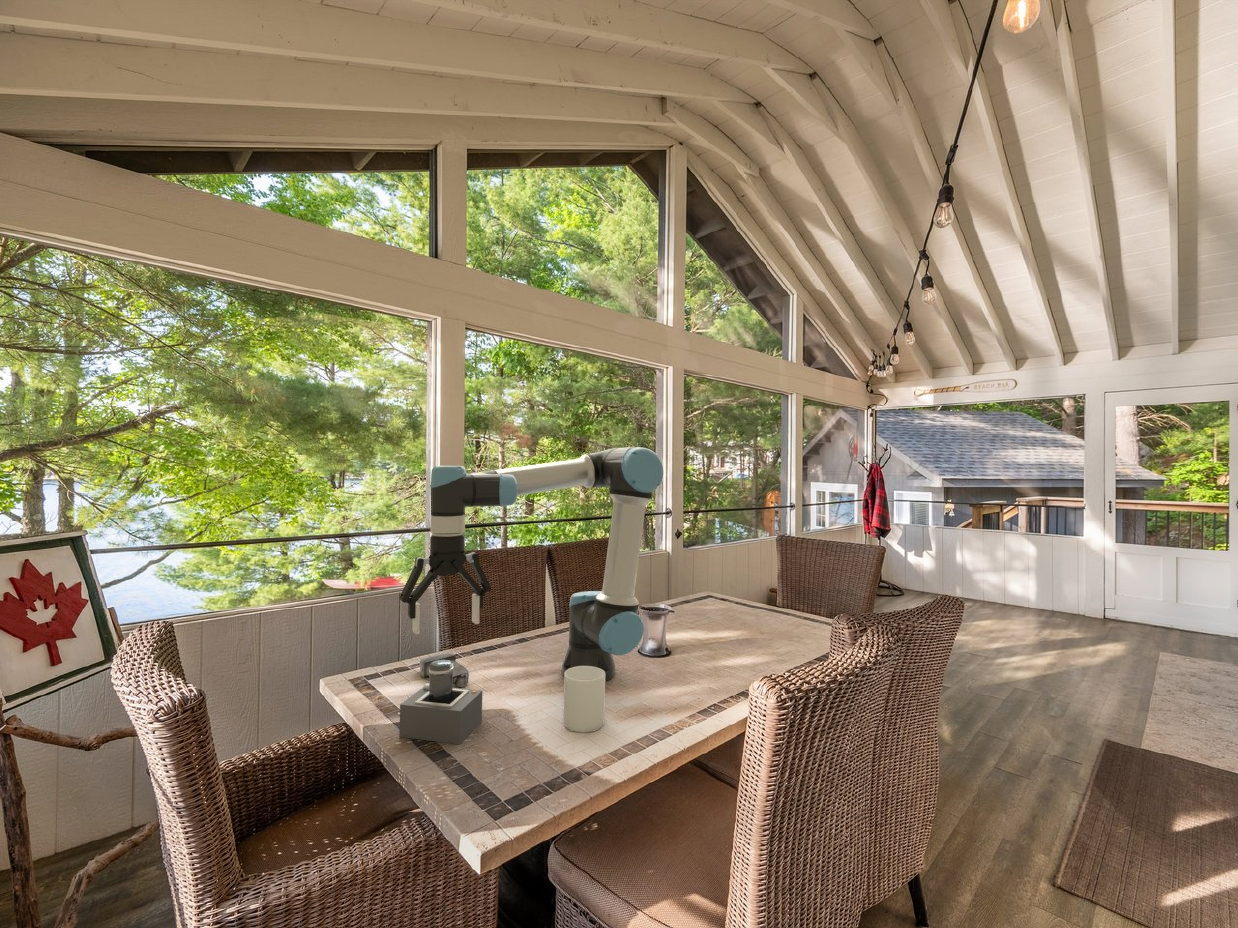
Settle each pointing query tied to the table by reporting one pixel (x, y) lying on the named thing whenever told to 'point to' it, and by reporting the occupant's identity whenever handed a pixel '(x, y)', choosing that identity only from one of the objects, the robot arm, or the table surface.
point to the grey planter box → (441, 716)
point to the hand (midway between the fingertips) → (446, 627)
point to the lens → (441, 682)
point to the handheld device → (458, 670)
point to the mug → (584, 698)
